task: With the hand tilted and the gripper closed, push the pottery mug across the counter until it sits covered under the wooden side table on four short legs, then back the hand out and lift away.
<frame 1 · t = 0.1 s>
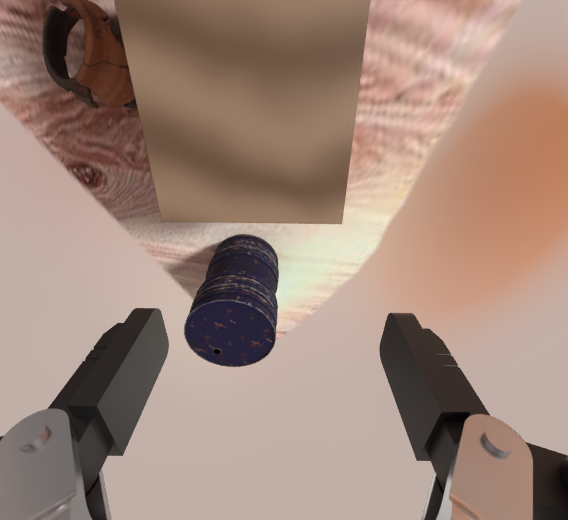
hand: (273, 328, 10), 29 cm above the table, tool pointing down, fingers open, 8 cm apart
pottery mug: (132, 62, 31), on the table
dark blue cylinder: (246, 262, 43), on the table
wooden side table: (262, 62, 30), on the table
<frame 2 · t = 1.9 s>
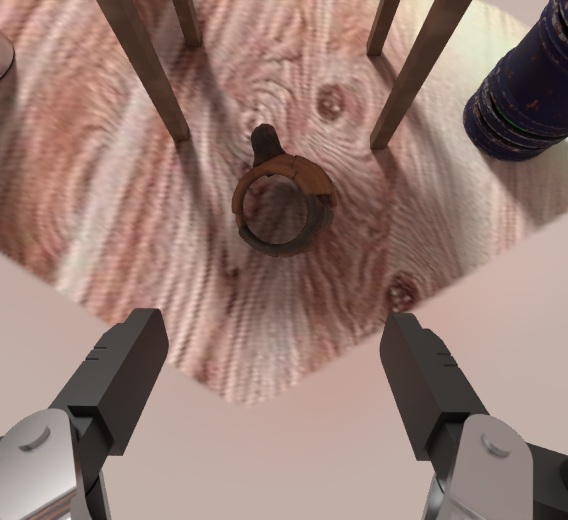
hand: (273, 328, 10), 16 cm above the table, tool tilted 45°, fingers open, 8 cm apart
pottery mug: (283, 206, 29), on the table
dark blue cylinder: (504, 124, 32), on the table
wooden side table: (281, 89, 32), on the table
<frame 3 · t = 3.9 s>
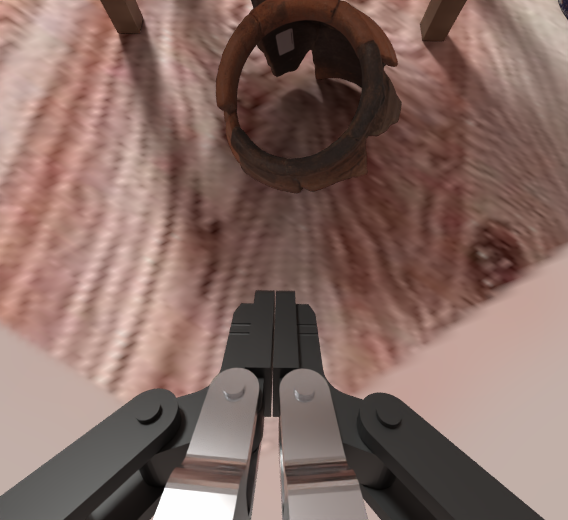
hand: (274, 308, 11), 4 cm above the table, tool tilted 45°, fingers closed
pottery mug: (302, 125, 18), on the table
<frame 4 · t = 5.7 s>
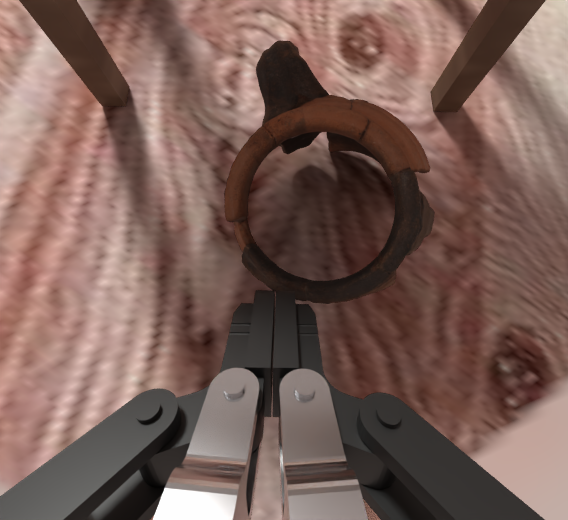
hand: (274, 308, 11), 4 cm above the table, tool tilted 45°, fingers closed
pottery mug: (315, 204, 17), on the table, touching gripper
wooden side table: (281, 24, 20), on the table
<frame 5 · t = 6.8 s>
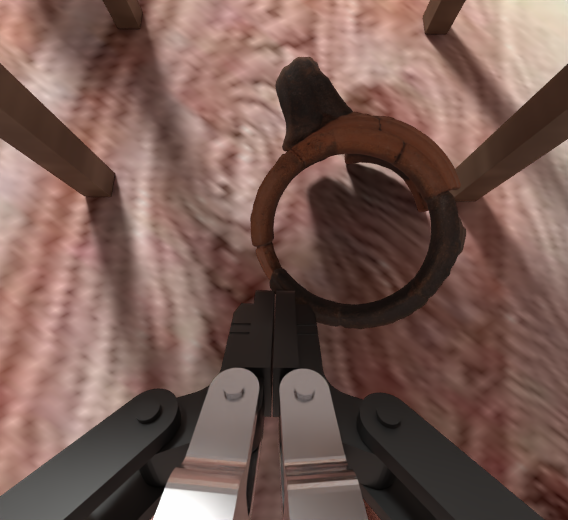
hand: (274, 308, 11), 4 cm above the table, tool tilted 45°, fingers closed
pottery mug: (333, 218, 16), on the table, touching gripper
wooden side table: (282, 97, 18), on the table
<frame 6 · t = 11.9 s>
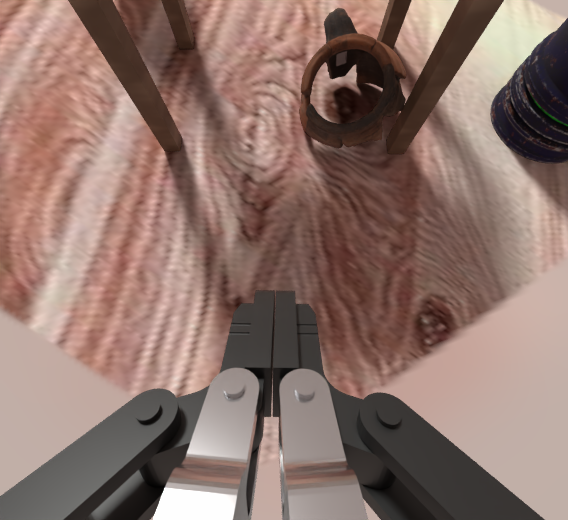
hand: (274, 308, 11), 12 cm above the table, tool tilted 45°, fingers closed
pottery mug: (344, 111, 29), on the table
dark blue cylinder: (538, 121, 28), on the table
wooden side table: (284, 92, 29), on the table
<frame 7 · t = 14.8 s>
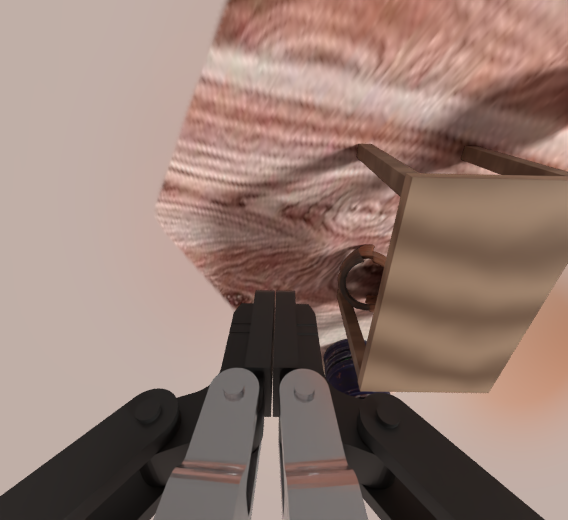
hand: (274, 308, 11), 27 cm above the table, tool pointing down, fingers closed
pottery mug: (375, 268, 43), on the table
dark blue cylinder: (350, 356, 52), on the table
wooden side table: (397, 232, 39), on the table
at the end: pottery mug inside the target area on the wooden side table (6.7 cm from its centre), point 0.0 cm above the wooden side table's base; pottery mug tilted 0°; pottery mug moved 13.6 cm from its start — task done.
